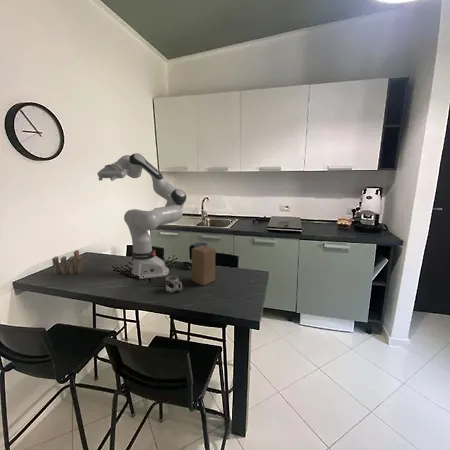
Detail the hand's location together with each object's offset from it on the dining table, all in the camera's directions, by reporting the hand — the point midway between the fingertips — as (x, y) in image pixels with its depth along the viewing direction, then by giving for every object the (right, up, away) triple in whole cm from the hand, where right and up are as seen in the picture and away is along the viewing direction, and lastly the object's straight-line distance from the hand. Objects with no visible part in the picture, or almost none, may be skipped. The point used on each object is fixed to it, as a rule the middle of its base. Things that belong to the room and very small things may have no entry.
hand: (105, 179), depth 182 cm
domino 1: (-24, -59, -13) cm, 65 cm away
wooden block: (+65, -62, -20) cm, 93 cm away
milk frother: (+58, -57, +2) cm, 82 cm away
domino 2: (-20, -59, -12) cm, 63 cm away
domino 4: (-18, -56, 0) cm, 59 cm away
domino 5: (-11, -59, -11) cm, 61 cm away
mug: (+51, -65, -32) cm, 88 cm away
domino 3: (-15, -59, -11) cm, 62 cm away
